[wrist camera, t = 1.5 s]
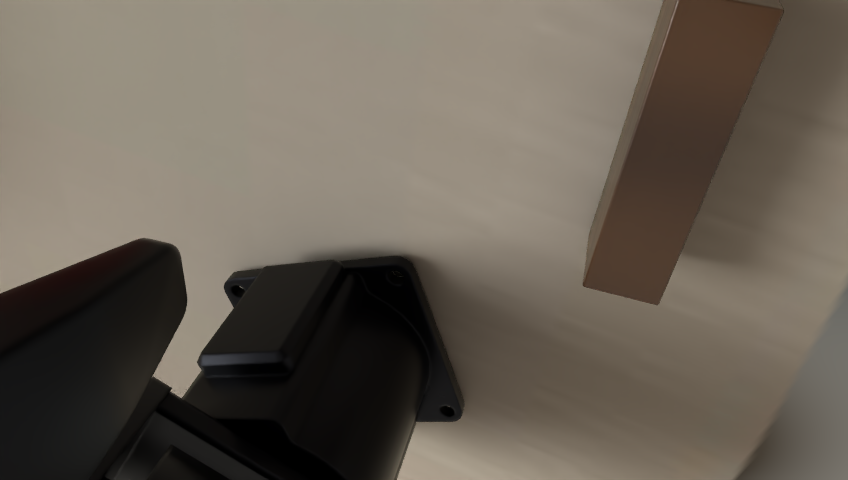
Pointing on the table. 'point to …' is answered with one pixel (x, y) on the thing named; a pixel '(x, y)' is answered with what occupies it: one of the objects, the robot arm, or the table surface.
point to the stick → (675, 139)
